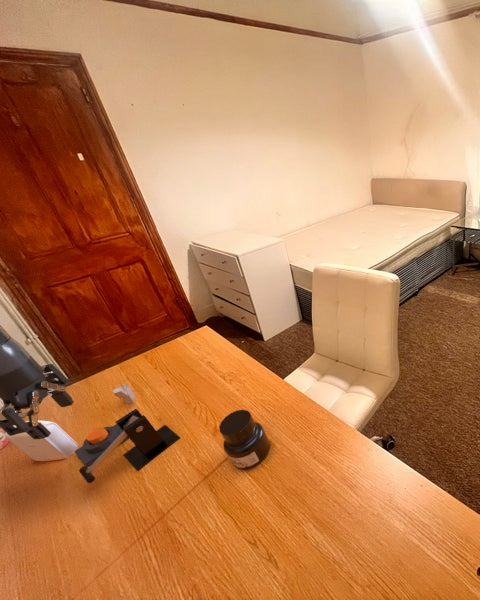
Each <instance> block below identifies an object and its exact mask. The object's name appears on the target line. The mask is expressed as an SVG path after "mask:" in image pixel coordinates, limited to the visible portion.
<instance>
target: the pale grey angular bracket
mask: <svg viewBox="0 0 480 600" xmlns="http://www.w3.org/2000/svg"><path fill="white" fill-rule="evenodd" d="M112 394H113V395H114V396H116V397H117V398H119V399H120V400H121V399H123V401H124V402H125V404H126V405H130V404H132V403H135V399H136V393H135V392H134V391H133V389H132V388H131V386H130V385H129V384H123V385H120V386H119V387H117V388H114V389H112Z"/></svg>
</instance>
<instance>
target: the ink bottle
mask: <svg viewBox="0 0 480 600" xmlns="http://www.w3.org/2000/svg"><path fill="white" fill-rule="evenodd" d="M218 429H219V433H220V435H221V437H222V438H223V439H224V440H223V450H224V452H225V454H226V455H227V457H228V459H229V460H230V463H231V464H232V465H233V466H234V467H235V468H237V469H241V470H249V469H253V468H255V467H256V466H258V465H259V464H260V463H261V462H262V461H263V460H265V458H266V457H267V456H268V454H269V451H270V449H271V442H270V439H269V437H268V435H267V433H266V431H265V429H264V427H263V425H262V424H261V423H260V422H258V421H255V420H254V418H253V415H252V414H251V412H249V410H246V409H238V410H237V409H236V410H235V411H233V412H230V413H229V414H227V415H226V416H225V417H224V418H223V419H222V420H221V421H220V424H219V426H218Z"/></svg>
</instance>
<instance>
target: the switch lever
mask: <svg viewBox="0 0 480 600" xmlns="http://www.w3.org/2000/svg"><path fill="white" fill-rule="evenodd" d="M138 418H139V417H136V416H134V415H133V416H132V417H131V418H130V419H129V420H128V421H127V422H126V423H125V424H124V425H123V427H124V428H125V427H126V426H128V425H129V424H131V423H132V422H134V421H135V420H137V419H138ZM127 436H128V435H127V434H126V433H125V432H124V431H123V432H122V433H121V434H120V435H119V436H118V437H117V438H116V439H115V440H114V442H113V443H112V444H111V445H110V446H109V447H108V448H107V449H106V450H105V451H104V452H103V453H102V454H101V455H100V456H99V458H98V459H97V460H96V461H95V462H94V463H93V464H92V465H91V466H89V467H88V468H87V467H86V466H85V465H83V466H82V467H80V468H79V469H78V472H79V473H80V475H81V476H82V477H83V479H84V480H85V482H86V483H87V484H92V483H94V481H95V480H96V477H95V475H94V473H95V472H96V471H97V469H98V468H99V467H100V466H101V465H102V464H103V463H104V462H105V461H106V459H108V458H109V456H110V455H111V454H112V453H113V452H114V451H115V450H116V449H117V448H118V447H119V446H120V445H119V444H120V443H121V442H122V441H123V440H124V439H125V438H126V437H127ZM118 445H119V446H118ZM117 446H118V447H117Z"/></svg>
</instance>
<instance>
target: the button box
mask: <svg viewBox="0 0 480 600" xmlns="http://www.w3.org/2000/svg"><path fill="white" fill-rule="evenodd" d="M103 428H104V429H105V430H106V431H107V432H108V433H109V435H108V437H107V438H106V439H105V440H103V441H102V442H100V443H98V444H95V445H93V444H91V443H90V442H89V441H88V440H87V438H85V439H84V440H83V443H82V446H79V447H78V449H77V450H76V451H74V452H75V453H74V454H75V455H76V456H77V458H78V459H79V460H80V461H81V463H82V464H83V466H86V467H87V468H89V467H90V466H91V465H92V464H93V463H94V462H95V461H96V460H97V459H98V458H99V456H100V455H101V454H102V453H103V452H104V451H105V450H106V449H107V448H108V447H109V446H110V445H111V444H112V443H113V442H114V440H115V439H116V438H117V437H118V436H119V435H120V434H121V433H122V432H123V430H122V429H121V428H120V427H119V426H118V425H117V424H116V423H115V424H114V425H111V426H107V425H106V426H104V427H103ZM128 440H130V439H129V437H128V436H127V437H126V438H125V439H124V440H123V441H122V442H121V443H120V444H119V445H118V446H117V448H119V446H121V445H123V443H125V442H126V441H128Z"/></svg>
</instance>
